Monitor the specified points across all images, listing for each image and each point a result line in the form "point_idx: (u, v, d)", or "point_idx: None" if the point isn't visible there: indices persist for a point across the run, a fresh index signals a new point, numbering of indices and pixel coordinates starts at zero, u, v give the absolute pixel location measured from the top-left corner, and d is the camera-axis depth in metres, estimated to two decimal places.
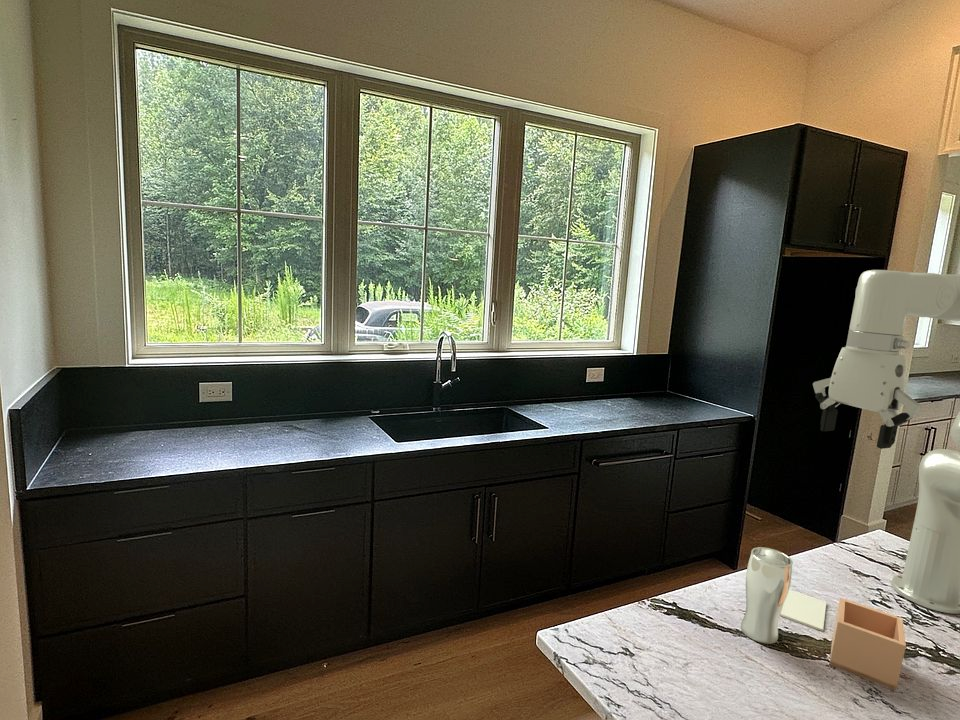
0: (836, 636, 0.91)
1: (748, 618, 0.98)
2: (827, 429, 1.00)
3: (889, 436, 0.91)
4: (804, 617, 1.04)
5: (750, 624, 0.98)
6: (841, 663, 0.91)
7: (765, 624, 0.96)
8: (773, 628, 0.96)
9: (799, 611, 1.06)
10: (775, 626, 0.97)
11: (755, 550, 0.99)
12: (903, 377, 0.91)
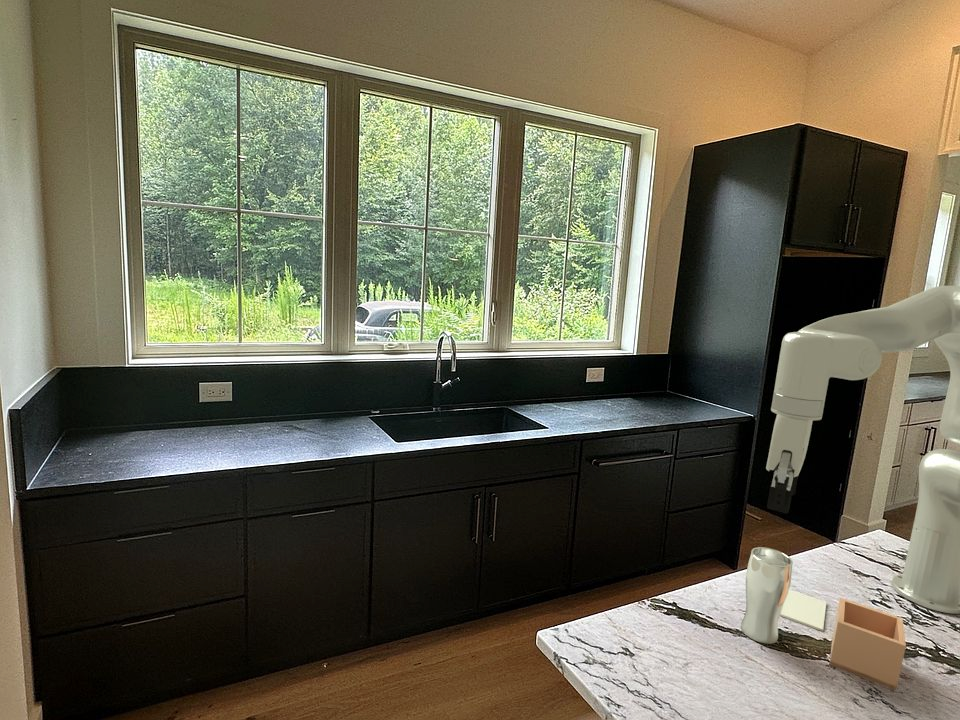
0: (836, 636, 0.91)
1: (748, 618, 0.98)
2: None
3: None
4: (804, 617, 1.04)
5: (750, 624, 0.98)
6: (841, 663, 0.91)
7: (765, 624, 0.96)
8: (773, 628, 0.96)
9: (799, 611, 1.06)
10: (775, 626, 0.97)
11: (755, 550, 0.99)
12: None
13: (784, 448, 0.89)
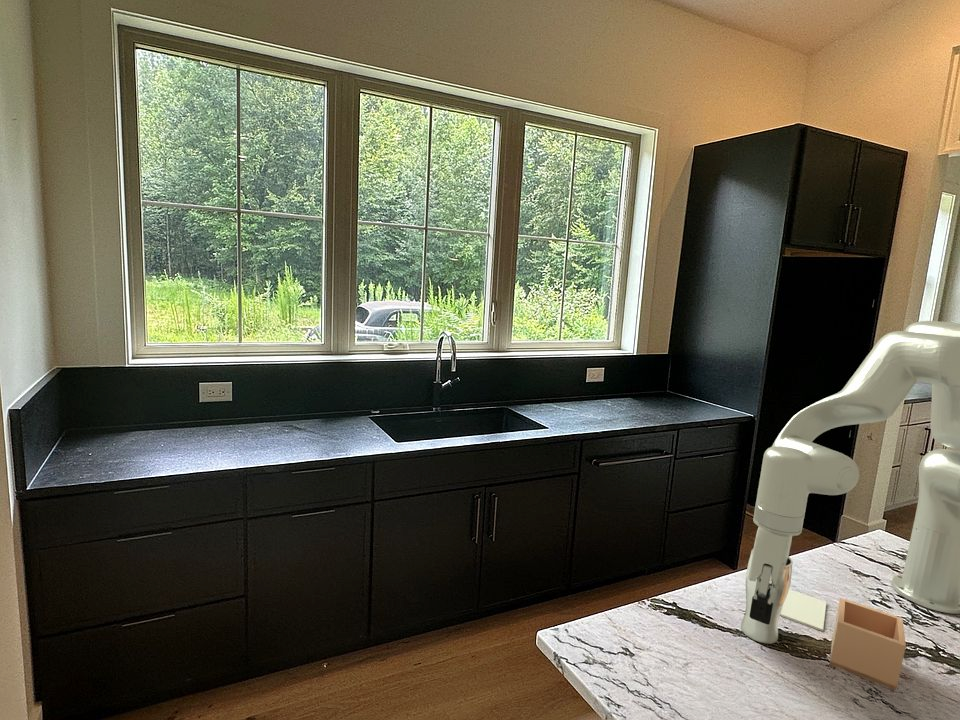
0: (836, 636, 0.91)
1: (748, 618, 0.98)
2: None
3: None
4: (804, 617, 1.04)
5: (750, 624, 0.98)
6: (841, 663, 0.91)
7: (765, 624, 0.96)
8: (773, 628, 0.96)
9: (799, 611, 1.06)
10: (775, 626, 0.97)
11: None
12: None
13: (765, 562, 0.93)
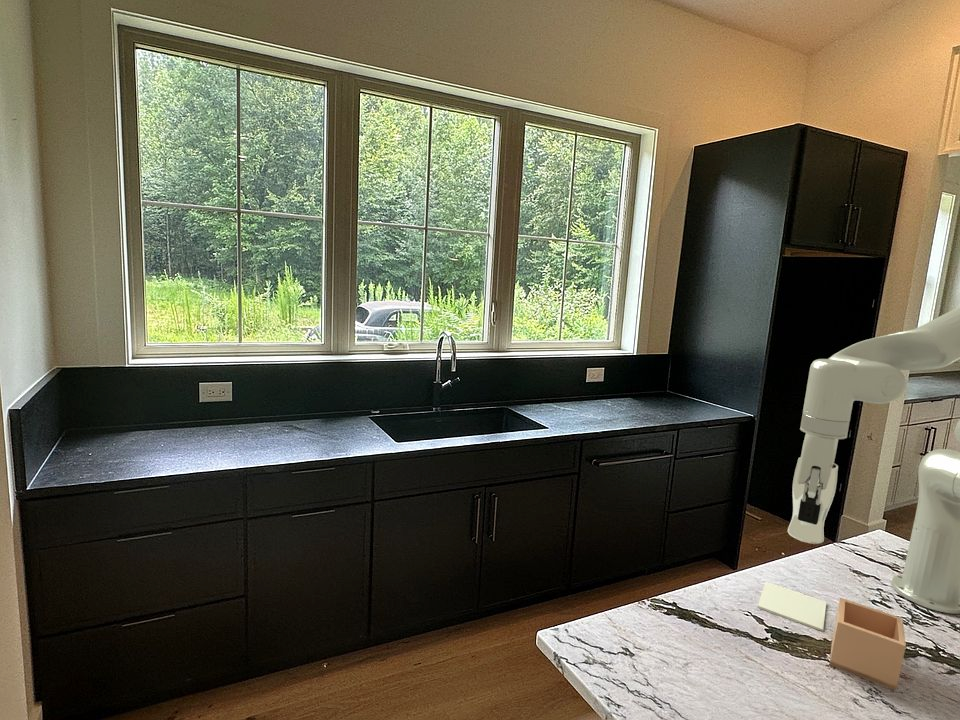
0: (836, 636, 0.91)
1: (796, 522, 1.05)
2: None
3: None
4: (804, 617, 1.04)
5: (797, 527, 1.04)
6: (841, 663, 0.91)
7: (812, 526, 1.03)
8: (820, 529, 1.03)
9: (799, 611, 1.06)
10: (821, 527, 1.03)
11: None
12: None
13: (813, 464, 0.99)
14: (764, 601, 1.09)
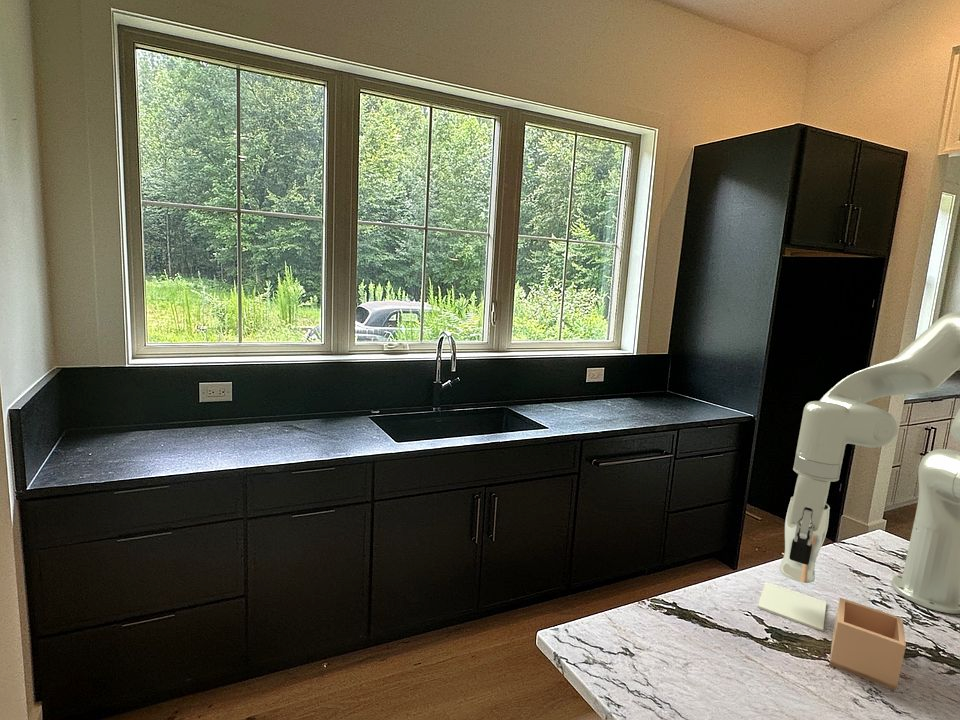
0: (836, 636, 0.91)
1: (787, 560, 1.06)
2: None
3: None
4: (804, 617, 1.04)
5: (789, 566, 1.06)
6: (841, 663, 0.91)
7: (804, 565, 1.04)
8: (811, 569, 1.04)
9: (799, 611, 1.06)
10: (813, 567, 1.05)
11: None
12: None
13: (805, 506, 1.01)
14: (764, 601, 1.09)
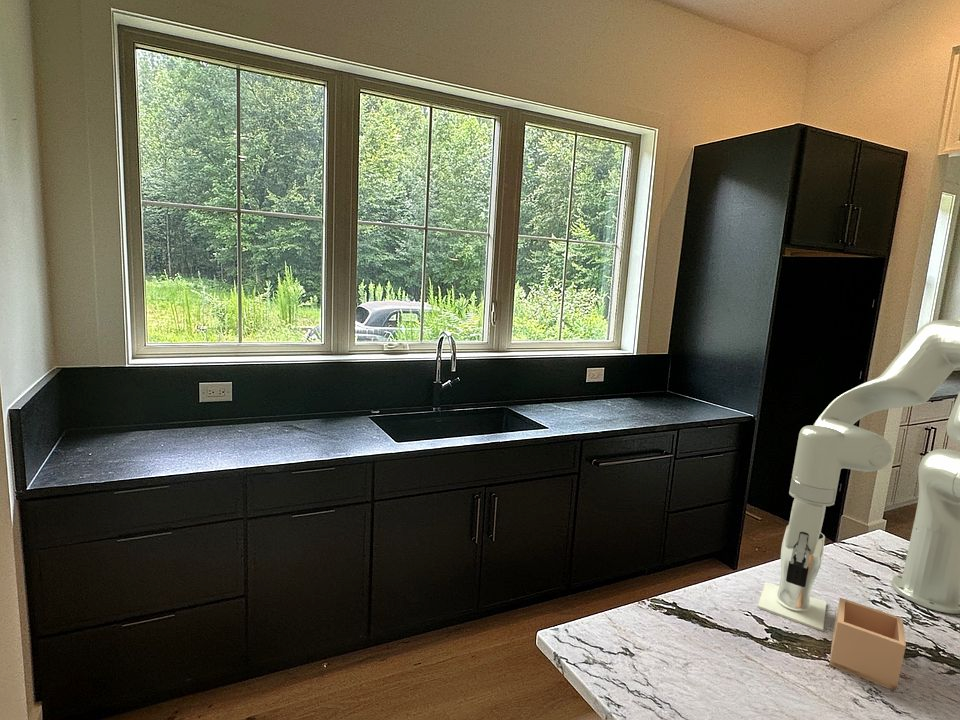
0: (836, 636, 0.91)
1: (783, 589, 1.07)
2: None
3: None
4: (804, 617, 1.04)
5: (785, 594, 1.07)
6: (841, 663, 0.91)
7: (799, 594, 1.06)
8: (806, 597, 1.06)
9: (799, 611, 1.06)
10: (808, 595, 1.06)
11: None
12: None
13: (801, 530, 1.02)
14: (764, 601, 1.09)
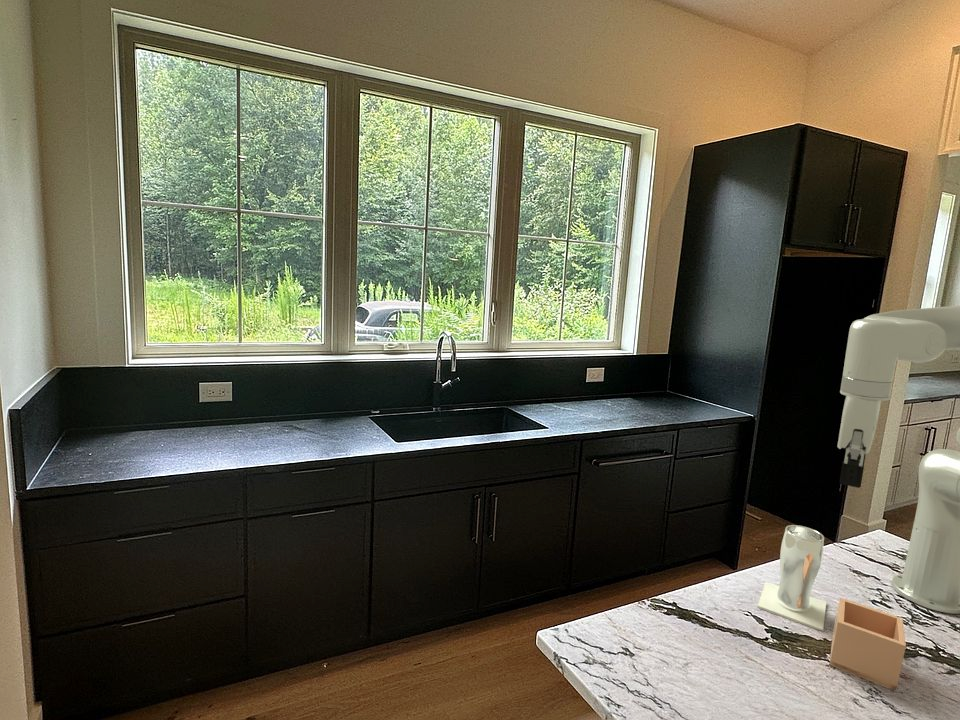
0: (836, 636, 0.91)
1: (783, 590, 1.07)
2: None
3: None
4: (804, 617, 1.04)
5: (785, 595, 1.07)
6: (841, 663, 0.91)
7: (799, 595, 1.06)
8: (806, 598, 1.06)
9: None
10: (808, 596, 1.06)
11: (788, 527, 1.09)
12: None
13: (855, 427, 0.96)
14: (764, 601, 1.09)
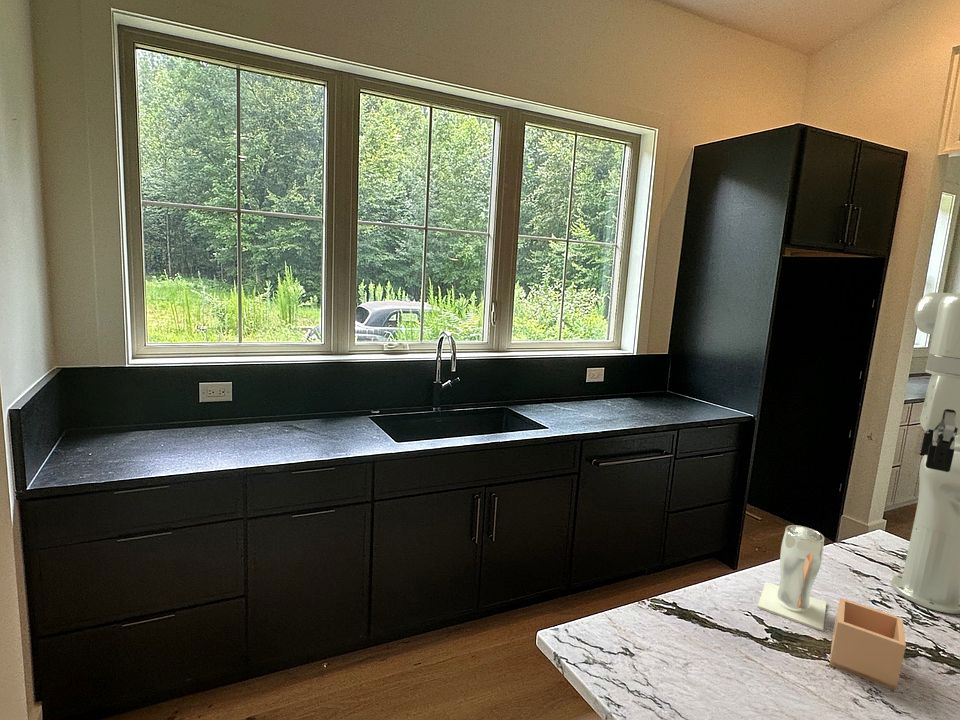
0: (836, 636, 0.91)
1: (783, 590, 1.07)
2: None
3: None
4: (804, 617, 1.04)
5: (785, 595, 1.07)
6: (841, 663, 0.91)
7: (799, 595, 1.06)
8: (806, 598, 1.06)
9: None
10: (808, 596, 1.06)
11: (789, 528, 1.09)
12: None
13: (946, 407, 0.91)
14: (764, 601, 1.09)
